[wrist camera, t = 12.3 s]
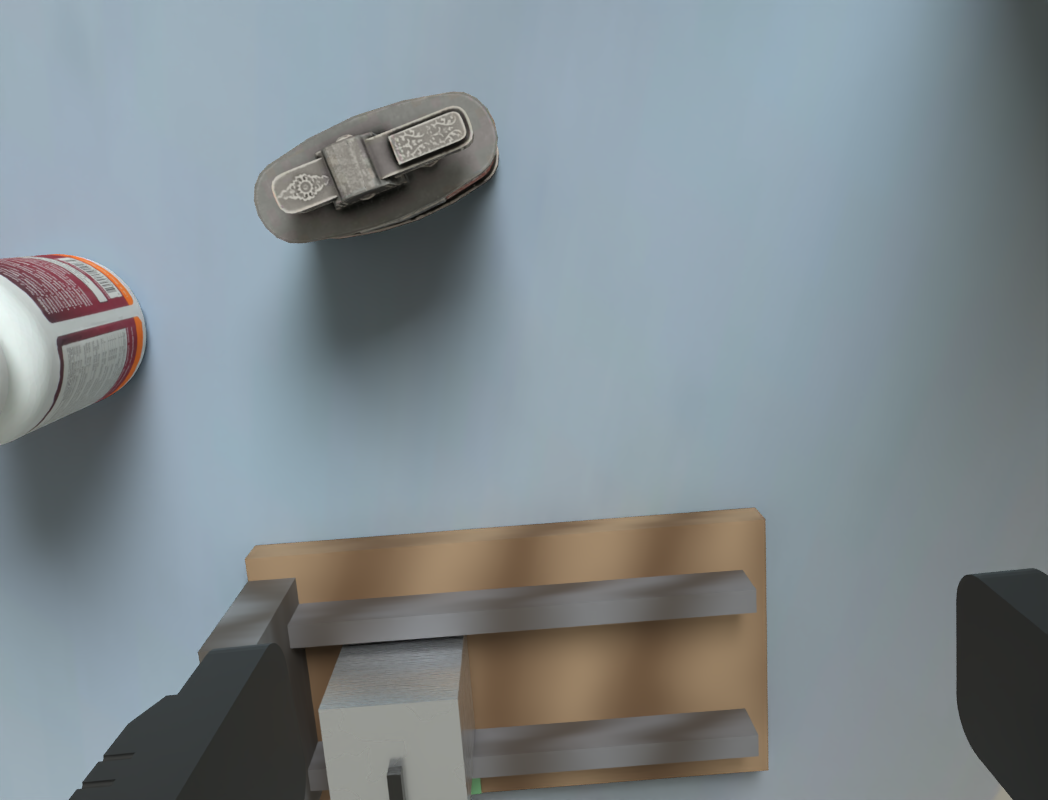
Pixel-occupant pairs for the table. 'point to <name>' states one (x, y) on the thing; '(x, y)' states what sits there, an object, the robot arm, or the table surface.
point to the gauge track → (543, 639)
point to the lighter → (379, 169)
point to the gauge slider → (400, 721)
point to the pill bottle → (62, 339)
